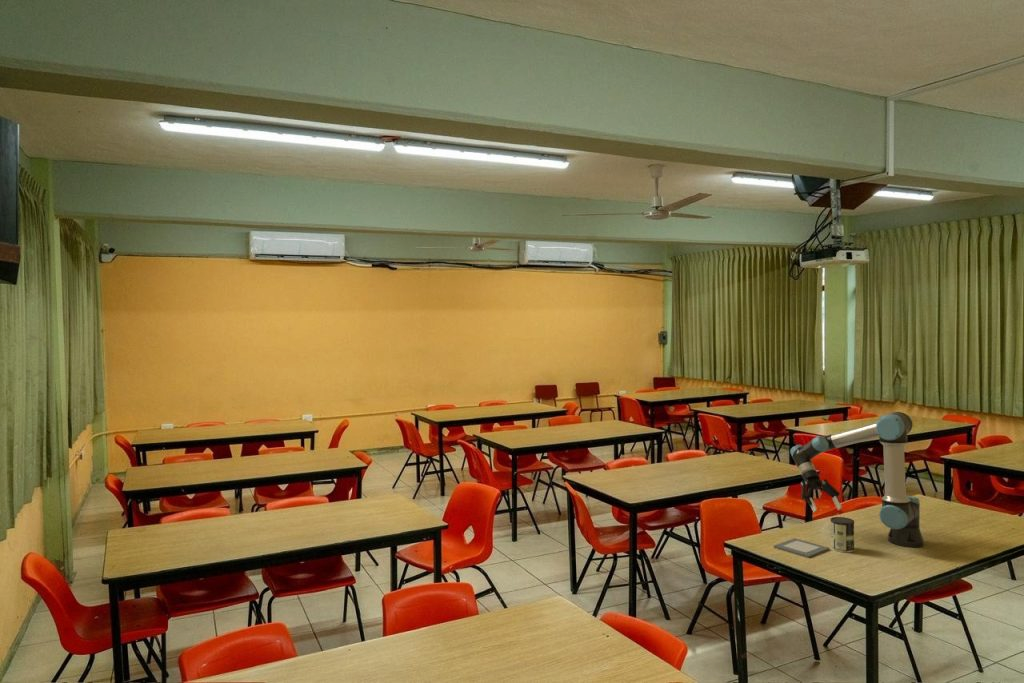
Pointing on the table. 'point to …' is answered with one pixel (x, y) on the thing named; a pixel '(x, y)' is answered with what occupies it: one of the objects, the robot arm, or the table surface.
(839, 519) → the coffee can
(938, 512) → the table surface
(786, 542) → the mat
